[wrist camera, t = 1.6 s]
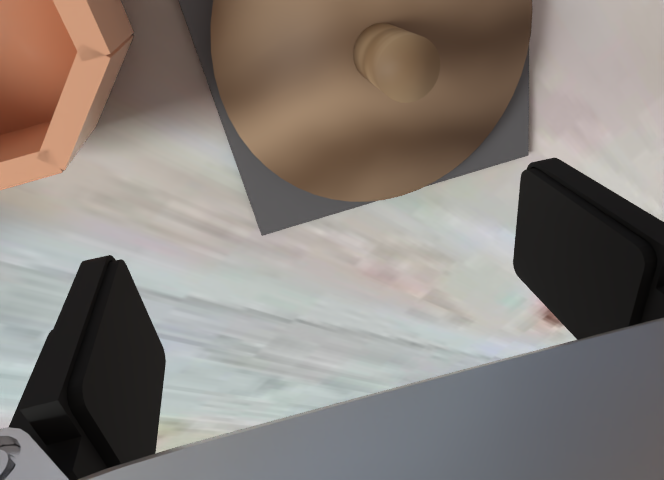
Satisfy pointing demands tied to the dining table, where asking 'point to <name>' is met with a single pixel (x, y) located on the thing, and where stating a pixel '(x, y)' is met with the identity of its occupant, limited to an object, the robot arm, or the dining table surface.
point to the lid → (367, 86)
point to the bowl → (55, 80)
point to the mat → (301, 206)
